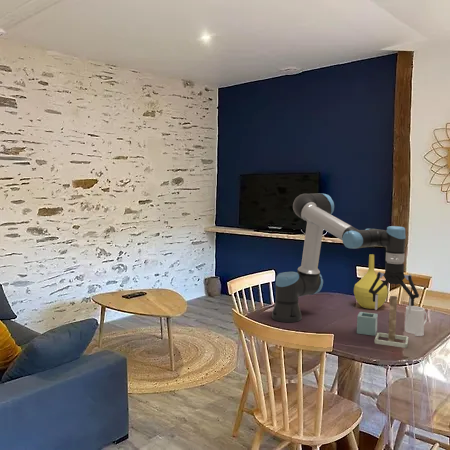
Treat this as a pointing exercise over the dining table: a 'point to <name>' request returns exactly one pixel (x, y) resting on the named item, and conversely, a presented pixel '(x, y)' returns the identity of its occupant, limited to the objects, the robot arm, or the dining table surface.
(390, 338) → the dowel
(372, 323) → the teal socket block
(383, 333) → the pale green rectangular frame
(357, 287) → the vase
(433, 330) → the dining table surface
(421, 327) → the mug
